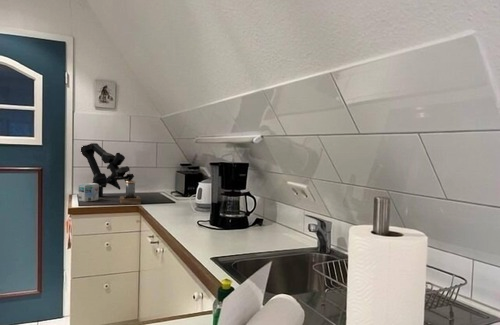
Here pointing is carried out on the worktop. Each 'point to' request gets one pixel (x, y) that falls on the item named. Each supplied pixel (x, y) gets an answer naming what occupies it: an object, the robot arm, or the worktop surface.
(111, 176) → the robot arm
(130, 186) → the canister
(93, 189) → the light bulb box
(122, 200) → the holder
